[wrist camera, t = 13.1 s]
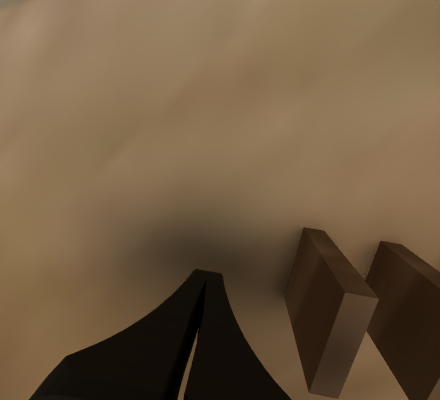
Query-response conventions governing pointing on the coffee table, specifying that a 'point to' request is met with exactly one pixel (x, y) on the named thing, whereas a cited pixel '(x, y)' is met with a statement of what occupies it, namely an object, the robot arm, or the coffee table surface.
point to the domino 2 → (407, 319)
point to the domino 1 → (327, 312)
